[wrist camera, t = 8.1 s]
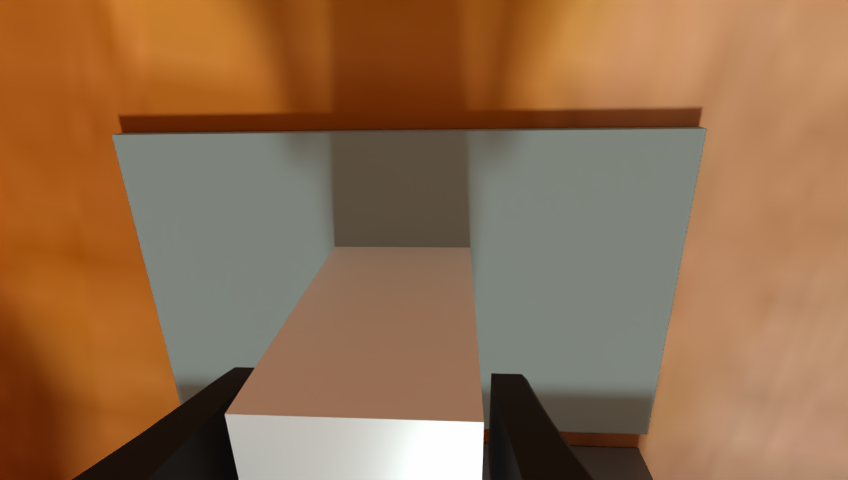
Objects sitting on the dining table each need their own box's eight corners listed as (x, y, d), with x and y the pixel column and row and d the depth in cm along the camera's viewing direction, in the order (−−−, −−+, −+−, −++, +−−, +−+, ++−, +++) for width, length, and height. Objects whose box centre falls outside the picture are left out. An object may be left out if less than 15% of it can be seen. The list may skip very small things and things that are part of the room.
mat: (190, 411, 17) (184, 419, 16) (121, 133, 13) (111, 135, 13) (642, 425, 16) (647, 434, 15) (699, 126, 12) (707, 128, 12)
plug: (345, 360, 15) (261, 585, 9) (334, 246, 14) (225, 413, 7) (468, 362, 15) (477, 598, 8) (470, 247, 13) (484, 422, 7)
